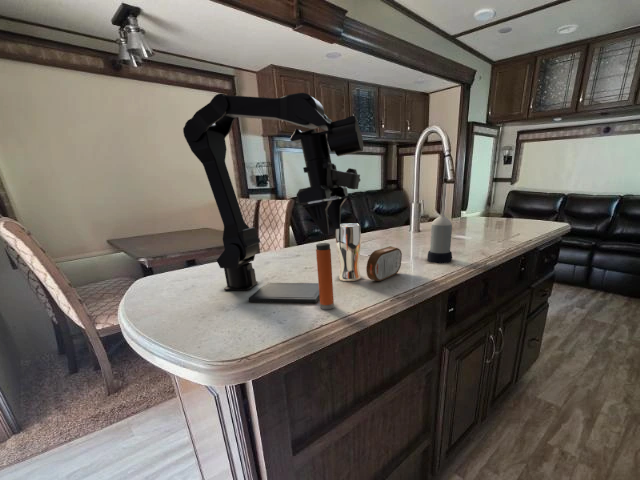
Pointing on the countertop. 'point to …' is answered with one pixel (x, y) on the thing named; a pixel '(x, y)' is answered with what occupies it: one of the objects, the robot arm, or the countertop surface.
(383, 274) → the tin
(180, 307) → the countertop surface
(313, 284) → the tablet
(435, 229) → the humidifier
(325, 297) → the orange cylinder
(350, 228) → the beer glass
